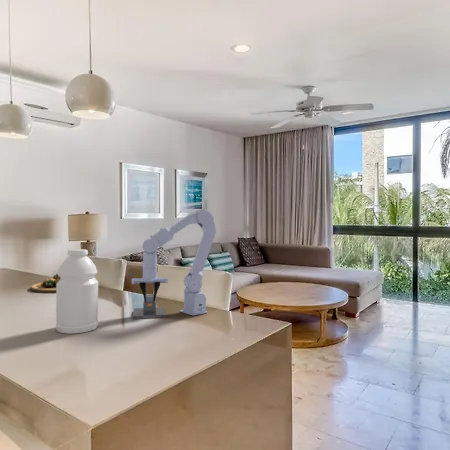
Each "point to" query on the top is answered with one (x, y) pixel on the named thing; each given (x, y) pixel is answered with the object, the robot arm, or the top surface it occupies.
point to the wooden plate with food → (46, 285)
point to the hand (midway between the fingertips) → (149, 300)
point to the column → (149, 298)
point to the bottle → (77, 294)
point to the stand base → (149, 311)
